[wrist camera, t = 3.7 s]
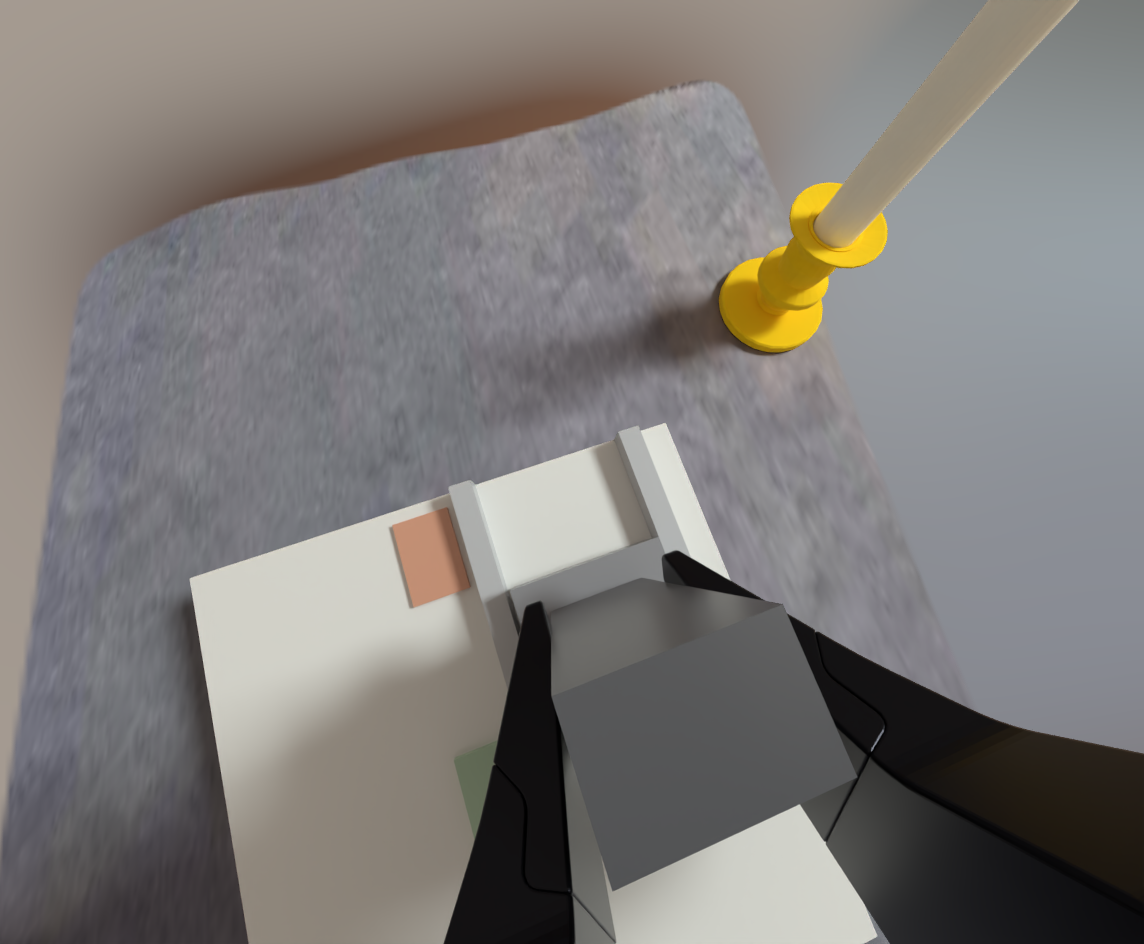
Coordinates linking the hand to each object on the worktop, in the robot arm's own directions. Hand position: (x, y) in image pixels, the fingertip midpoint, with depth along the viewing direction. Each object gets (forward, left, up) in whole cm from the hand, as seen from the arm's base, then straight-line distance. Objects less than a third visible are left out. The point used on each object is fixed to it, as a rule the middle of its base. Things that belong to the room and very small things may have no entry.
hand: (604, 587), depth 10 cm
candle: (+9, -14, -8) cm, 19 cm away
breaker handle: (-1, 0, -5) cm, 5 cm away
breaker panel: (-4, +4, -8) cm, 10 cm away
